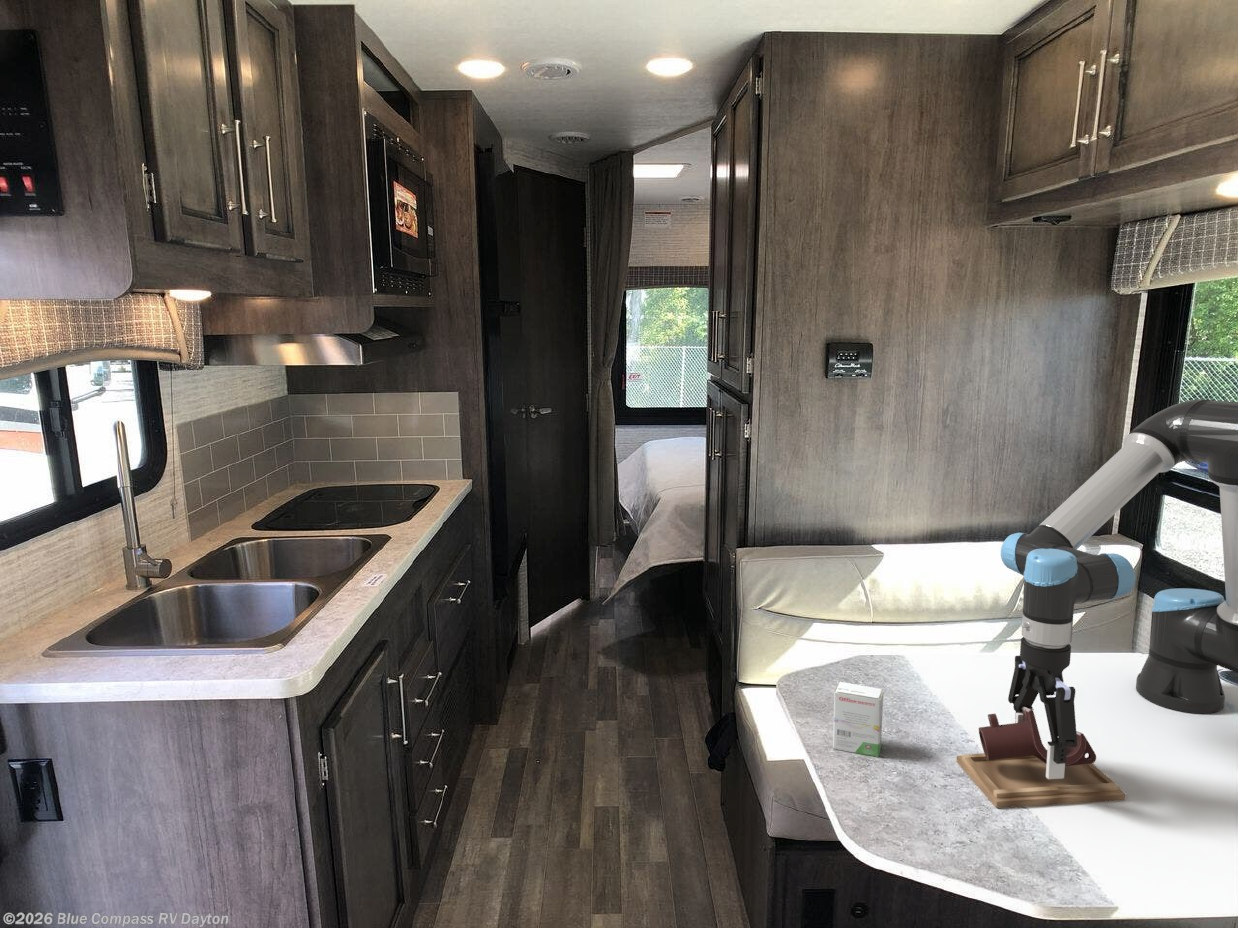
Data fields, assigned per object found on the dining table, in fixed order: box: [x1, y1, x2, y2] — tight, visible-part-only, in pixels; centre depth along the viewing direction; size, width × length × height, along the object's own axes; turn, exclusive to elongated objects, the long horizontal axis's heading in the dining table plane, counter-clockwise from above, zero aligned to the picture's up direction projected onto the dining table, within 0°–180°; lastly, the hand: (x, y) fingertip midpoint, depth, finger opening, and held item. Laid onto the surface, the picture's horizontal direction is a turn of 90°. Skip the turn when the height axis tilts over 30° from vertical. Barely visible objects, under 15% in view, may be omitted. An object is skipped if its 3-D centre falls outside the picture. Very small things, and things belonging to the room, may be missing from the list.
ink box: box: [832, 681, 884, 758], centre depth 148 cm, size 9×5×12 cm, turn 65°
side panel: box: [956, 752, 1126, 809], centre depth 136 cm, size 22×14×2 cm, turn 93°
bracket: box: [978, 706, 1097, 766], centre depth 136 cm, size 6×17×10 cm, turn 78°
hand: (1038, 761), depth 136 cm, fingers closed on bracket, 9 cm apart
